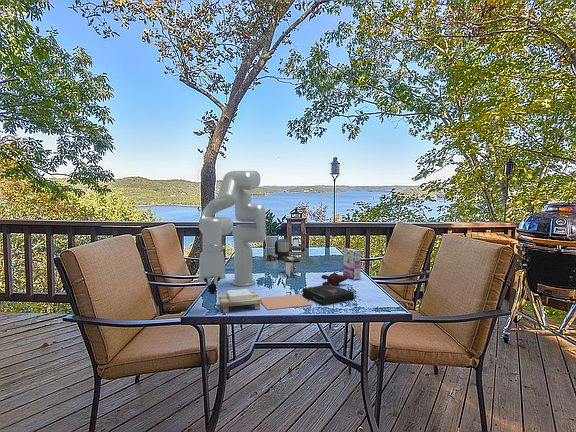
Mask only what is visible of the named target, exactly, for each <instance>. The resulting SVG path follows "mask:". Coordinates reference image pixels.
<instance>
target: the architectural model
mask: <svg viewBox="0 0 576 432" xmlns="http://www.w3.org/2000/svg"><path fill="white" fill-rule="evenodd" d="M282 259H283V260H282V261H284V262H285V273H286V275H287V276H288V277H289V278H290V277H291V274H293V275H294V268H295V267H296V263H301V259H299V257H297V252H295V254H294V255H289V256H282Z"/></svg>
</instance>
